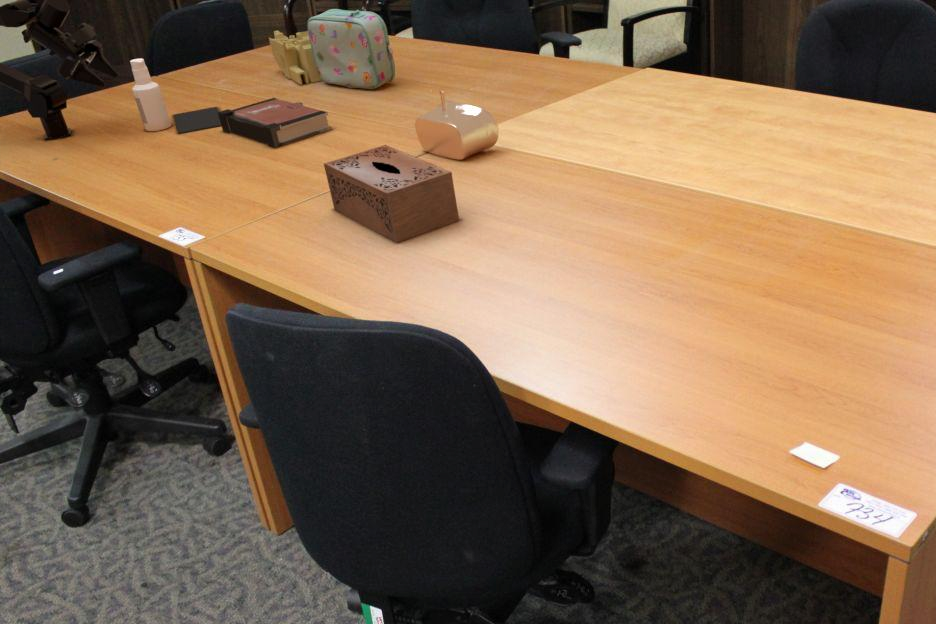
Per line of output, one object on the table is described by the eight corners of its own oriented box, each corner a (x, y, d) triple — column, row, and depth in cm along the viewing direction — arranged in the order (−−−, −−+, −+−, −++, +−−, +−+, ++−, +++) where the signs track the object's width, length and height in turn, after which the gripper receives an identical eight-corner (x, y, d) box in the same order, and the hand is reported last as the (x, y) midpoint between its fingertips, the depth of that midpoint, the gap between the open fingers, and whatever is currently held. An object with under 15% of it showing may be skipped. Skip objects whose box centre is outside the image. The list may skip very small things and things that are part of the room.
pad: (173, 115, 274) (172, 114, 273) (216, 107, 277) (216, 106, 277) (178, 134, 258) (178, 132, 258) (224, 125, 262) (224, 124, 262)
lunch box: (405, 83, 285) (391, 6, 273) (381, 93, 278) (366, 14, 266) (340, 76, 298) (324, 2, 286) (315, 85, 291) (298, 10, 279)
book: (333, 128, 252) (329, 109, 249) (275, 148, 242) (269, 128, 239) (280, 113, 268) (275, 95, 265) (222, 131, 257) (217, 112, 255)
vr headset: (502, 149, 228) (494, 88, 220) (466, 164, 221) (457, 101, 213) (451, 137, 239) (442, 78, 231) (415, 151, 232) (405, 90, 224)
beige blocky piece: (353, 24, 293) (287, 29, 284) (361, 78, 299) (297, 85, 290) (328, 25, 312) (266, 31, 303) (337, 76, 318) (276, 83, 309)
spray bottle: (162, 122, 268) (140, 55, 259) (176, 125, 265) (155, 57, 255) (140, 129, 264) (117, 62, 254) (155, 132, 260) (132, 64, 251)
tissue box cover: (334, 209, 203) (323, 163, 198) (394, 189, 211) (385, 144, 205) (396, 242, 186) (386, 193, 181) (459, 220, 194) (451, 172, 188)
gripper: (53, 23, 239) (113, 65, 246) (82, 8, 255) (137, 48, 261) (33, 58, 244) (92, 99, 250) (63, 41, 259) (118, 80, 265)
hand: (111, 80), depth 257 cm, fingers open, 9 cm apart
